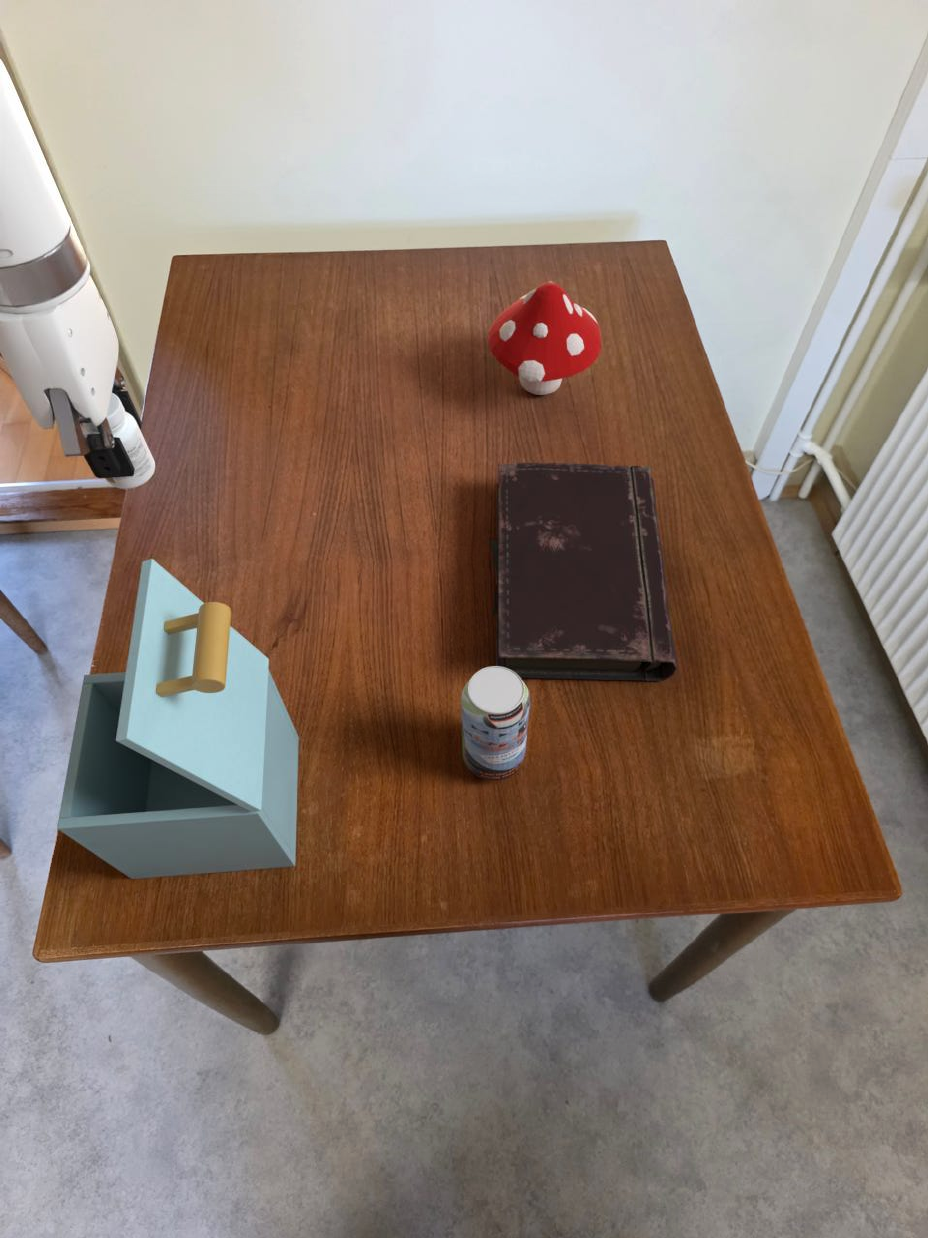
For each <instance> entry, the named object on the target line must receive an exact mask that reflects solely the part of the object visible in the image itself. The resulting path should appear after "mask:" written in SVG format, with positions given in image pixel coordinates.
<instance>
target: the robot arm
mask: <svg viewBox="0 0 928 1238" xmlns="http://www.w3.org/2000/svg"><path fill="white" fill-rule="evenodd" d="M11 78H12V77H11V76H10V73H9V72H8V70H7V68H6V66H5V64H4V62H3V60H2V59H1V58H0V355H1V358H2V359H3V361H4V364H5V365H6V368H7V370H8V372H9V374H10V375H11V379H12V380H13V382H14V384H15V386H16V388H17V390H18V392H19V394H20V395H21V397H22V399H23V401H24V403H25V405H26V407H27V409H28V410H29V412H30V414H31V416H32V418H33V419H34V421H35V422H36V424H37V425H38V426H39V427H40V428H41V429H42V430H54V428H55V424H56V427H57V428H56V429H57V432H58V435H59V440H60V444H61V449H62V453H63V455H64V456H65V457H66V458H69V457H83V458H84V459H85V461H86V463H87V465H88V466H89V468H90V471H91V472H92V473H93V475H94V477H95V478H98V479H105V478H114V477H130V476H133V475H134V472H135V468H134V466H133V464H132V462H131V460H130V458H129V456H128V454H127V452H126V450H125V448H124V446H123V444H122V442H121V440H120V438H117V437H114V436H113V433H112V431H111V428H110V425H109V422H108V420H107V417H106V416H107V413H108V409H109V404H110V399H111V394H112V393H114V394H115V395H117V396H118V398H119V399H120V401H121V403H122V405H123V407H124V409H125V412H128V413H129V414H131V415H132V416H133V417H134V419H135V420H136V422H137V424H138V426H139V428H140V430H142V425H143V422H142V420H141V418H140V415H139V413H138V410H137V408H136V406H135V404H134V402H133V400H132V398H131V395H130V393H129V391H128V390H125V389H126V380H125V377H124V375H123V374H122V372H121V370H120V369H119V367H118V360H119V351H120V348H119V347H120V346H119V344H120V343H119V338H118V335H117V332H116V329H115V326H114V323H113V321H112V318H111V316H110V314H109V311H108V309H107V307H106V305H105V302H104V300H103V298H102V296H101V293H100V292H99V290H98V288H97V286H96V284H95V282H94V280H93V278H92V276H91V264H90V261H89V259H88V256H87V255H86V252H85V250H84V247H83V244H82V242H81V240H80V238H79V235H78V233H77V230H76V228H75V226H74V223H73V221H72V219H71V217H70V214H69V212H68V210H67V207H66V205H65V203H64V201H63V198H62V196H61V193H60V192H59V191H60V190H59V189H58V186H57V184H56V181H55V179H54V177H53V175H52V172H51V170H50V168H49V166H48V164H47V161H46V158H45V156H44V154H43V151H42V149H41V146H40V144H39V142H38V140H37V137H36V135H35V133H34V129H33V127H32V125H31V122H30V121H29V119H28V116H27V114H26V111H25V109H24V107H23V104H22V102H21V99H20V97H19V95H18V92H17V90H16V88H15V86H14V85H15V84H14V83H13V80H12V79H11ZM82 423H92V424H94V425H95V426H97V429H98V431H99V434H83V432H82V431H83V428H82Z"/></svg>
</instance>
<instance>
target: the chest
mask: <svg viewBox="0 0 928 1238" xmlns="http://www.w3.org/2000/svg"><path fill="white" fill-rule="evenodd" d="M125 675H126V671H125V672H110V673H109V672H108V673H94V674H92V673H91V674H84V675H83V680H82V685H81V691H80V697H79V701H78V706H77V713H76V717H75V724H74V730H73V735H72V741H71V747H70V753H69V758H68V764H67V770H66V775H65V780H64V785H63V792H62V797H61V803H60V807H59V815H58V820H57V826H56V829H57V830H58V831H60V832H61V833H62V834H64V835H66V836H67V837H69V838H70V839H71V840H73V841H75V842H76V843H78V844H79V845H80V846H82V847H84V848H85V849H86V850H88V851H89V852H91V853H92V854H94V855H95V856H97V857H98V858H100V859H101V860H102V861H104V862H106V863H107V864H109V865H110V866H112V867H113V868H115V869H116V870H117V871H119V872H120V873H122V874H124V875H125V876H126V877H128V878H130V879H131V880H139V879H150V878H151V879H152V878H153V879H154V878H164V877H166V878H167V877H179V876H191V875H203V874H204V875H205V874H216V873H229V872H242V871H243V872H244V871H254V870H265V869H279V868H291V867H296V851H297V820H298V819H297V818H298V817H297V815H298V782H299V781H298V779H299V777H298V776H299V746H300V745H299V743H300V742H299V741H300V740H299V739H300V738H299V735H298V733H297V730H296V728H295V725H294V724H293V721H292V719H291V717H290V715H289V712H288V710H287V708H286V705H285V703H284V701H283V699H282V696H281V694H280V692H279V690H278V688H277V684H276V683H275V680H274V678H273V676H272V674H271V672H270V670H269V668H268V686H267V707H266V727H265V747H264V768H263V788H262V808H261V811H256V812H251V811H249V810H247V809H245V808H243V807H241V806H239V805H237V804H235V803H234V802H232V801H230V800H228V799H226V798H224V797H222V796H220V795H218V794H216V793H215V792H213V791H211V790H209V789H207V788H205V787H203V786H201V785H199V784H197V783H195V782H194V781H192V780H190V779H188V778H186V777H184V776H182V775H180V774H178V773H176V772H174V771H173V770H171V769H169V768H167V767H165V766H163V765H161V764H159V763H157V762H155V761H154V760H152V759H150V758H148V757H146V756H144V755H142V754H140V753H138V752H136V751H134V750H133V749H131V748H129V747H127V746H125V745H123V744H121V743H119V742H117V741H116V735H117V728H118V722H119V715H120V708H121V701H122V695H123V688H124V681H125Z"/></svg>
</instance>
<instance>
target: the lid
mask: <svg viewBox="0 0 928 1238" xmlns="http://www.w3.org/2000/svg"><path fill="white" fill-rule="evenodd" d="M137 588H138V589H137V594H136V601H135V608H134V616H133V622H132V629H131V634H130V642H129V649H128V655H127V662H126V669H125V672H126V675H125V681H124V688H123V695H122V701H121V708H120V715H119V722H118V728H117V735H116V741H117V742H119V743H121V744H123V745H125V746H127V747H129V748H131V749H133V750H134V751H136V752H138V753H140V754H142V755H144V756H146V757H148V758H150V759H152V760H154V761H155V762H157V763H159V764H161V765H163V766H165V767H167V768H169V769H171V770H173V771H174V772H176V773H178V774H180V775H182V776H184V777H186V778H188V779H190V780H192V781H194V782H195V783H197V784H199V785H201V786H203V787H205V788H207V789H209V790H211V791H213V792H215V793H216V794H218V795H220V796H222V797H224V798H226V799H228V800H230V801H232V802H234V803H235V804H237V805H239V806H241V807H243V808H245V809H247V810H249V811H251V812H256V811H261V808H262V788H263V768H264V747H265V727H266V707H267V686H268V669H269V665H270V664H269V663H270V659H269V658H268V657H267V656H266V655H265V654H264V653H263V652H261V651H260V650H259V649H258V648H257V647H256V646H255V645H253V644H252V643H251V642H250V641H249V640H248V639H246V638H245V637H244V636H243V635H241V634H240V633H239V632H238V630H236V629H235V628H234V627H232V626H231V622H232V621H231V620H232V609H231V607H230V606H229V605H227V604H226V603H222V602H219V601H209V602H204V601H202V600H201V599H200V598H199V597H197V596H196V594H194V593H193V592H192V591H191V590H189V588H187V587H186V586H185V585H184V584H183V583H181V582H180V581H179V580H178V579H177V578H176V577H175V576H173V574H171V573H170V572H168V571H167V570H166V569H165V568H164V567H163V566H162V565H161V564H160V563H158V562H157V561H156V560H155V559H154V558H150V559H147V560H142V563H141V569H140V575H139V581H138V587H137Z"/></svg>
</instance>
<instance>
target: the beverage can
mask: <svg viewBox="0 0 928 1238" xmlns="http://www.w3.org/2000/svg"><path fill="white" fill-rule="evenodd" d="M460 696H461V697H460V698H461V700H460V703H461V705H460V706H461V748H462V759H463V762H464V764H465V766H466V767H467V769H468V770H469V771H470V772H471V773H472V774H474V775H475V776H476V777H478V778H481V779H484V780H485V781H501V780H505V779H509V778H510V777H512V776H514V775H515V774H516V773H517V772H519V770H520V769H521V768H522V766H523V764H524V762H525V758H526V750H527V740H528V739H527V738H528V730H529V719H530V708H531V695H530V690H529V689H528V686H527V685H526V684H525V682H524V681H523V680H522V678H520V677H519V676H518V675H517V674H516V673H515V672H514V671H512V670H510V669H508V668H505V667H500V666H497V665H494V666H493V665H492V666H486V667H484V668H483V667H482V668H481V669H479V670H477V671H476V672H475V673H474V674H473V675H472V676H471V677H470V679H469V680H468V681H467V682H466V683H465V685H464V687H463V689H462V691H461V695H460Z"/></svg>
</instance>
